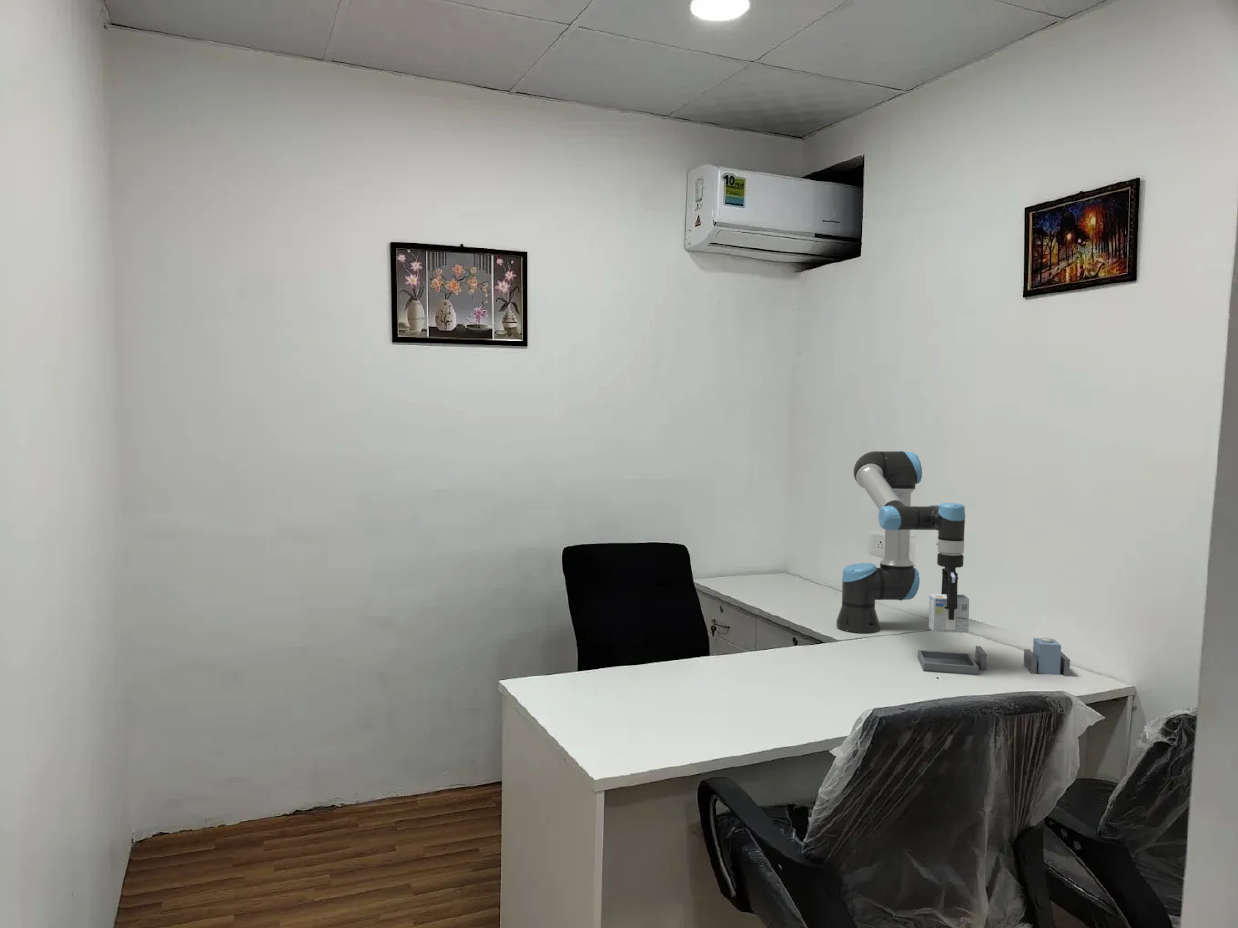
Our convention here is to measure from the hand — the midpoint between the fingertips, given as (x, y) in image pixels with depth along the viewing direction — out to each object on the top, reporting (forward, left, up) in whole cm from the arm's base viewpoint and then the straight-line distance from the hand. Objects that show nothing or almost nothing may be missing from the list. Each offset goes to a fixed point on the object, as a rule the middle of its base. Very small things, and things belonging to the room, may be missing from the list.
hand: (948, 626), depth 261 cm
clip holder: (-3, +22, -13) cm, 26 cm away
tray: (0, 0, -13) cm, 13 cm away
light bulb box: (0, 0, -1) cm, 1 cm away
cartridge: (-3, +29, -13) cm, 32 cm away
